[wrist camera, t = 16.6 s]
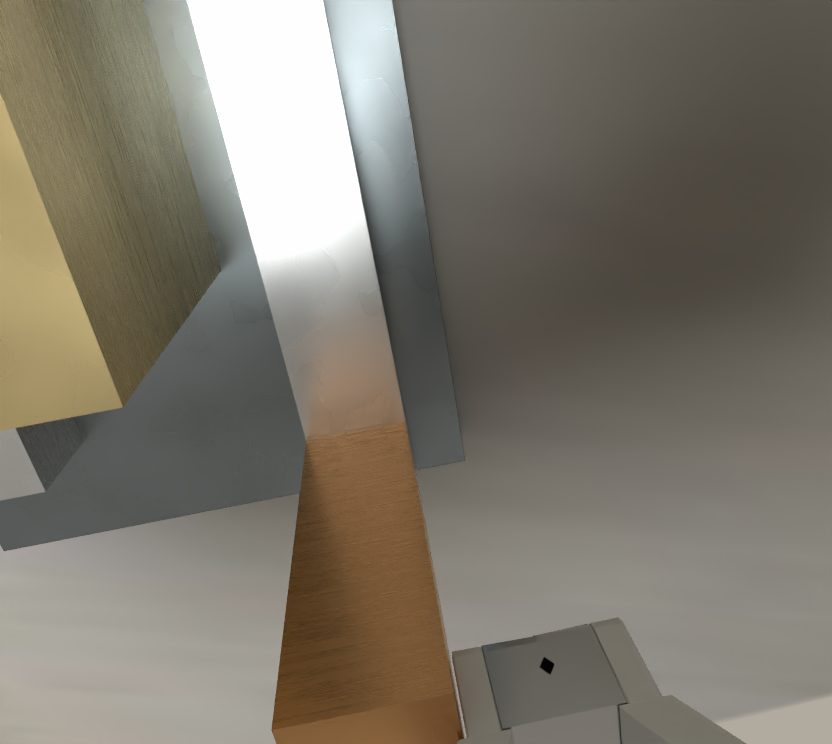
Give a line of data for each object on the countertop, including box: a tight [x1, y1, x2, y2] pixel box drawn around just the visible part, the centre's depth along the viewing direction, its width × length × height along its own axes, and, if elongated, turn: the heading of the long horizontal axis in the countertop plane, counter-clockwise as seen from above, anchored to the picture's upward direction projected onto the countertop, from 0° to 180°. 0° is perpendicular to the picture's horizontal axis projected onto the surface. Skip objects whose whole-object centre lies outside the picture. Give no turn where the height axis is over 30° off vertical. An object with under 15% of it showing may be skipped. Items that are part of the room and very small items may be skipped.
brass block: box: [0, 0, 221, 431], centre depth 11 cm, size 4×8×8 cm, turn 9°
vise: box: [0, 0, 465, 551], centre depth 15 cm, size 22×14×4 cm, turn 9°
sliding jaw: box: [187, 0, 465, 744], centre depth 11 cm, size 19×2×10 cm, turn 9°
